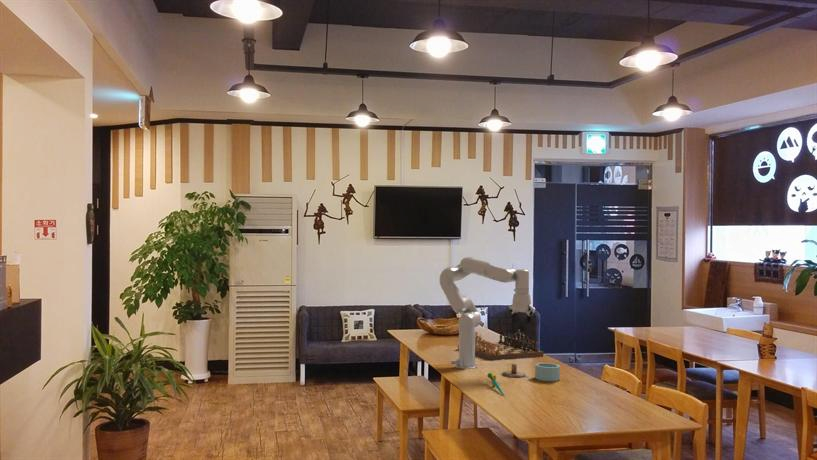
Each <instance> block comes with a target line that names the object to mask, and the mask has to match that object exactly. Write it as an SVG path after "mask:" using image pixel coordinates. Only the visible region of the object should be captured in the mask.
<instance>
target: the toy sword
mask: <svg viewBox="0 0 817 460" xmlns="http://www.w3.org/2000/svg"><path fill="white" fill-rule="evenodd" d="M487 378H488V379H490V380H491V382H492V383H491V388H497V389H498V391H499V392H500V394H501V395H502V396H503V397H506V395H505V394H504V392H503V390H502V389H501V387H500V385H499V383H498V382H497V376H496V375H493V373H491V372H488V373H487Z"/></svg>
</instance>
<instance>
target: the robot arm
mask: <svg viewBox="0 0 817 460" xmlns="http://www.w3.org/2000/svg"><path fill="white" fill-rule="evenodd" d="M471 274H474V275H478V276H481V277H484V278H487V279H490V280H494V281H497V282H499V283H512V282H515V285H514V287H515V288H514V289H513V292H514V293H513V296H512V302H511V305H508V308H509V311H510V313H511V315H512V322H517V321H518V314H517V313H525V314H526V315H527V316H526V323H527V324H531V323H532V316H533V314H535V311H536V308H535V307H534V306H533V305H532V301H531V295H530V272H529V270H528V269H525V268H524V269H520V268H519V269H516V268H502V267H498V266H495V265H491V263H490V262H489V261H485V260H481V259H480V260H479V259H477V258H476V257H474V256H467V257H466V256H465V257H463V258H462V259H461V260H460V262H459V264H458V265H456V266H449V267H446V268H444V269H443V270H442V271H441V272H440V275H439V285H440V288H441V290H442V292H443V293H444V295H445V297H446V299H447V300H448V302H449V304H450V306H451V308H452V310H453V312H455V313H457V314H461V315H460V317H458V318H459V319H458V321H457V324H458V345H459V350H458V358H457V359H456V360H450V362H449V363H450V365H455V367H456V368H457V369H460V370H472V369H473V370H474V369H478V365H477V364H476V355H475V335H476V334H475V333H476V330H475V329H476V328H477V327H479V326H480V324H481V323H482V317H481V314H480V313H479V311H478V309H477V307H476V305H475V303H474V302H473V300H472V299H471V298H470V297H469V296H467V295H463V294H462V293H461V291H460V288H458V286H457V284H455V282H456V281H460V280H462V279H464V278H466V277H468V276H469V275H471Z"/></svg>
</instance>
